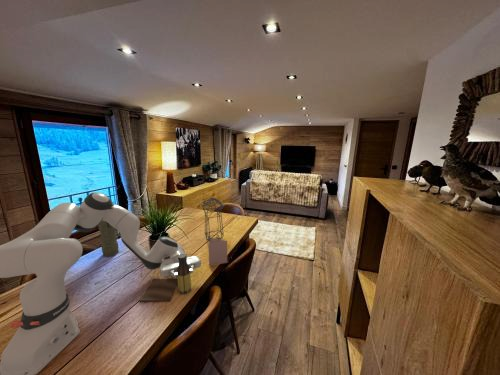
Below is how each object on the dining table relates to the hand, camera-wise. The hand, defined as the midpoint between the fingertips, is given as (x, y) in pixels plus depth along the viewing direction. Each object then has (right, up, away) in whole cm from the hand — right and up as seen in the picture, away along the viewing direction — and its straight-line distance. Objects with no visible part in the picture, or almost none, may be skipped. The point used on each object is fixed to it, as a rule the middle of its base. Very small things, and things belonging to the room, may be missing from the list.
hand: (184, 274), depth 96 cm
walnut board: (-13, -9, +3) cm, 16 cm away
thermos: (-61, -1, +34) cm, 70 cm away
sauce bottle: (-1, -10, +3) cm, 10 cm away
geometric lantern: (+4, +1, +55) cm, 55 cm away
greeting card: (+12, -5, +26) cm, 29 cm away
